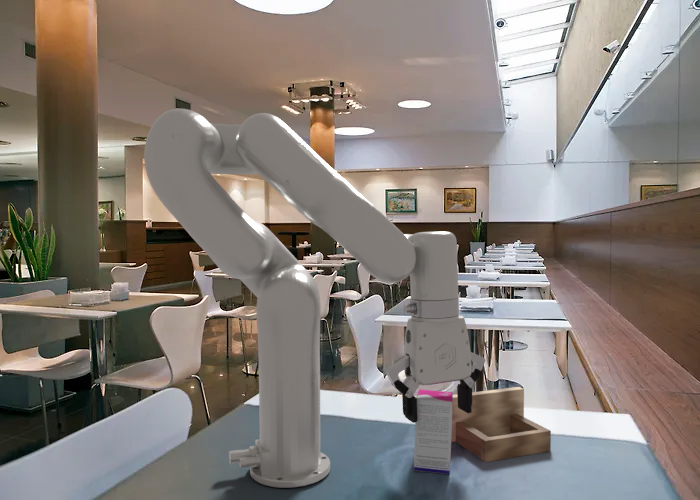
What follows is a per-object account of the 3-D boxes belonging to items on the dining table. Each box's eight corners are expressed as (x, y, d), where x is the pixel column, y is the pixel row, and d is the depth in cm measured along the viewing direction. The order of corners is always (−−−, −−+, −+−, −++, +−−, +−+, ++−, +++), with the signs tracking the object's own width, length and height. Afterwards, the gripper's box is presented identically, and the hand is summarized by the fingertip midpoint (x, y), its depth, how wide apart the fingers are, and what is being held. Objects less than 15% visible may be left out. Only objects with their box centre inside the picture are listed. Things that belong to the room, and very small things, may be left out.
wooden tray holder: (455, 467, 87) (455, 417, 87) (424, 442, 97) (424, 398, 97) (557, 449, 94) (558, 403, 94) (518, 428, 104) (519, 386, 104)
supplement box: (451, 474, 85) (452, 401, 84) (412, 471, 86) (413, 399, 85) (451, 459, 90) (452, 390, 90) (415, 456, 92) (416, 388, 91)
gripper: (395, 317, 81) (399, 431, 81) (495, 307, 87) (498, 414, 87) (375, 310, 88) (379, 416, 89) (469, 301, 94) (472, 400, 94)
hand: (438, 415), depth 88 cm, fingers open, 9 cm apart
